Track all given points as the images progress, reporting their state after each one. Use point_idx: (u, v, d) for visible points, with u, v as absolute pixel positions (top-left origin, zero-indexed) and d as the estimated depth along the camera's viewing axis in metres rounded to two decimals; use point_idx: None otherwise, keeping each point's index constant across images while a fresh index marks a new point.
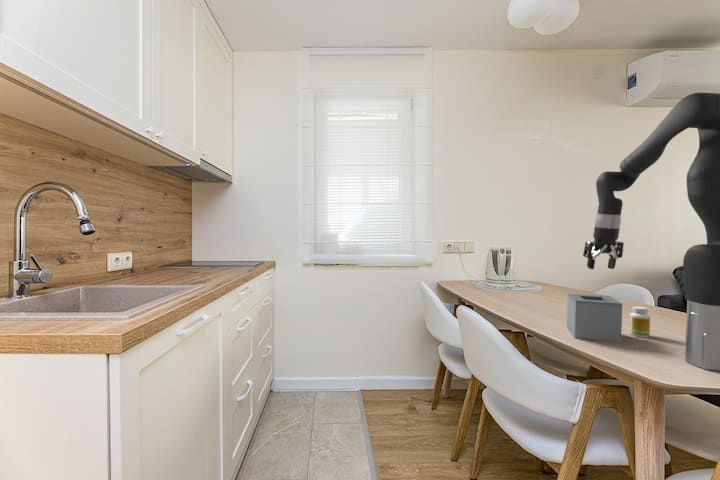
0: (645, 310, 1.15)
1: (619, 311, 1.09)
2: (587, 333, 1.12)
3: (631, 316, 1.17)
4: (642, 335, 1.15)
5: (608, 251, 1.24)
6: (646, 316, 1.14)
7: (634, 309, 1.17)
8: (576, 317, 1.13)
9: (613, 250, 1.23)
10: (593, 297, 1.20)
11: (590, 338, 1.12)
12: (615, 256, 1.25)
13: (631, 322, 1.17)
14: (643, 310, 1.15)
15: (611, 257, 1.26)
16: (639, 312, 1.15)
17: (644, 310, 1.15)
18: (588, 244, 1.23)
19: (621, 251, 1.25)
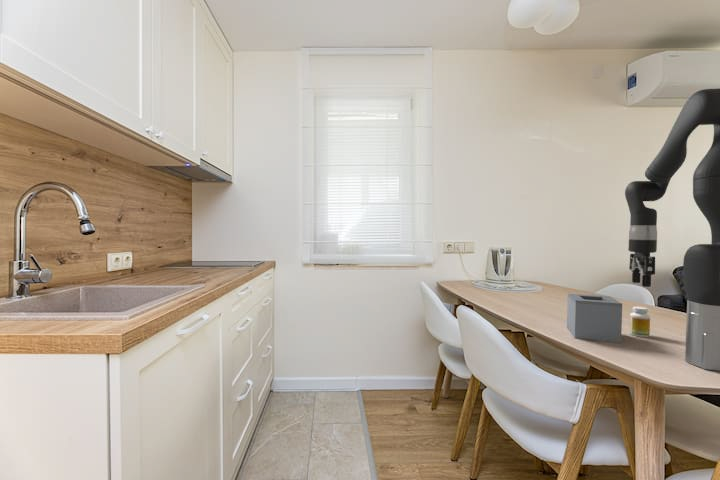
0: (645, 310, 1.15)
1: (619, 311, 1.09)
2: (587, 333, 1.12)
3: (631, 316, 1.17)
4: (642, 335, 1.15)
5: None
6: (646, 316, 1.14)
7: (634, 309, 1.17)
8: (576, 317, 1.13)
9: None
10: (593, 297, 1.20)
11: (590, 338, 1.12)
12: None
13: (631, 322, 1.17)
14: (643, 310, 1.15)
15: (635, 271, 1.20)
16: (639, 312, 1.15)
17: (644, 310, 1.15)
18: (651, 259, 1.10)
19: None
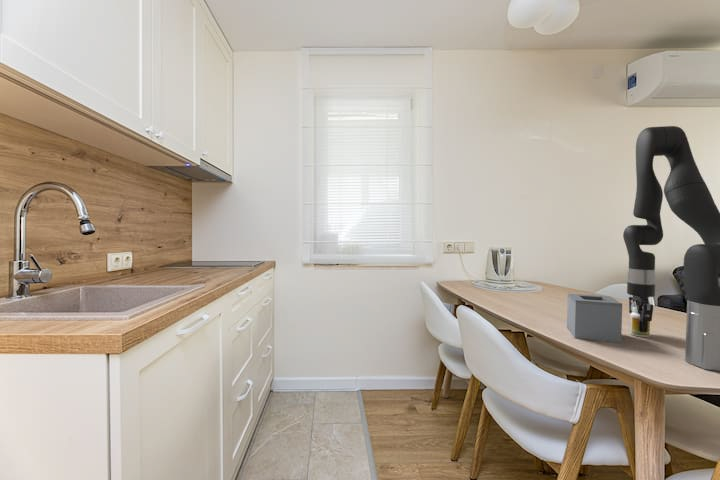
0: None
1: (619, 311, 1.09)
2: (587, 333, 1.12)
3: (631, 316, 1.17)
4: (642, 335, 1.15)
5: None
6: None
7: (634, 309, 1.17)
8: (576, 317, 1.13)
9: None
10: (593, 297, 1.20)
11: (590, 338, 1.12)
12: None
13: (631, 322, 1.17)
14: None
15: None
16: None
17: None
18: (649, 308, 1.10)
19: None
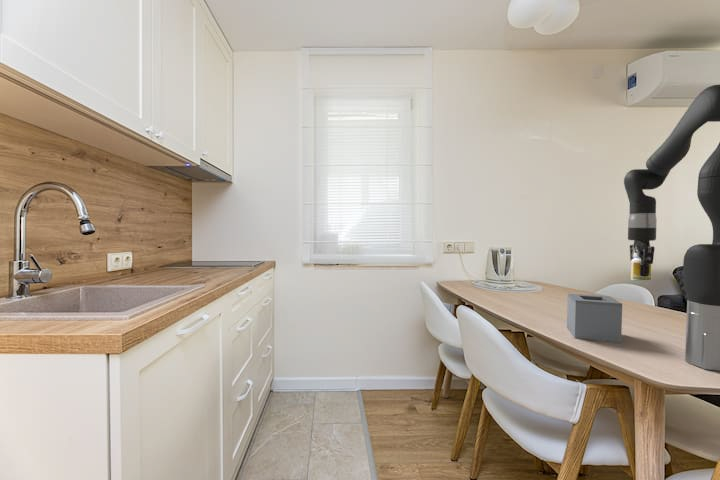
0: None
1: (619, 311, 1.09)
2: (587, 333, 1.12)
3: (632, 262, 1.17)
4: (643, 279, 1.14)
5: None
6: None
7: (635, 254, 1.16)
8: (576, 317, 1.13)
9: None
10: (593, 297, 1.20)
11: (590, 338, 1.12)
12: None
13: (632, 268, 1.17)
14: None
15: None
16: None
17: None
18: (650, 249, 1.10)
19: None
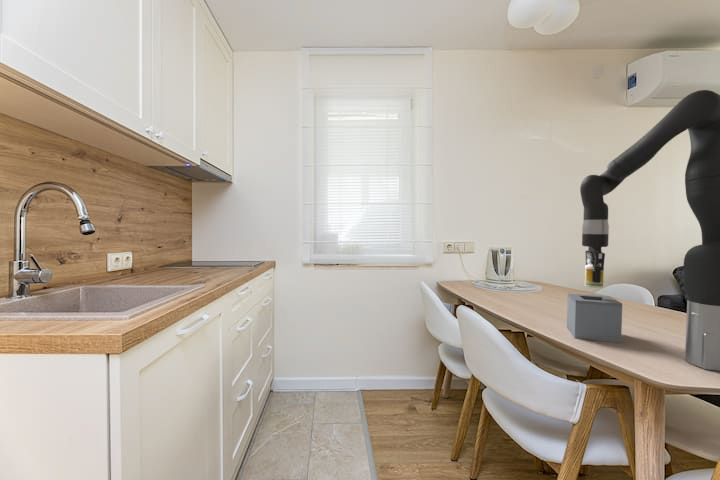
0: None
1: (619, 311, 1.09)
2: (587, 333, 1.12)
3: (585, 268, 1.17)
4: (595, 285, 1.14)
5: None
6: None
7: (588, 260, 1.16)
8: (576, 317, 1.13)
9: None
10: (593, 297, 1.20)
11: (590, 338, 1.12)
12: None
13: (585, 274, 1.17)
14: None
15: None
16: None
17: None
18: (601, 256, 1.10)
19: None
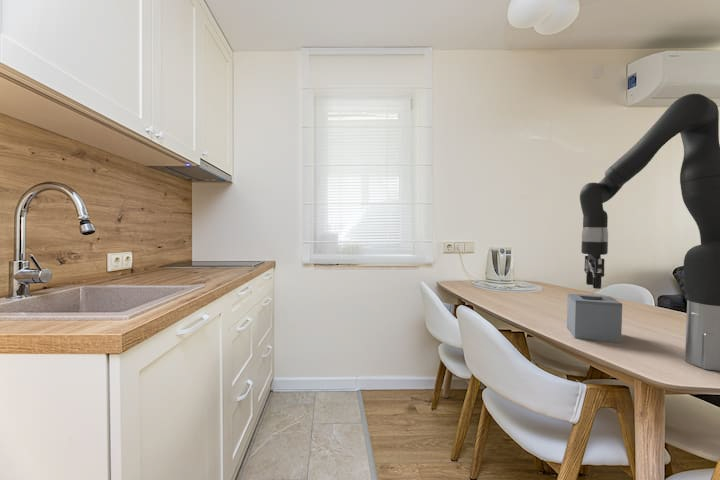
0: None
1: (619, 311, 1.09)
2: (587, 333, 1.12)
3: None
4: None
5: None
6: None
7: None
8: (576, 317, 1.13)
9: None
10: (593, 297, 1.20)
11: (590, 338, 1.12)
12: None
13: None
14: None
15: (589, 273, 1.20)
16: None
17: None
18: (600, 261, 1.10)
19: None
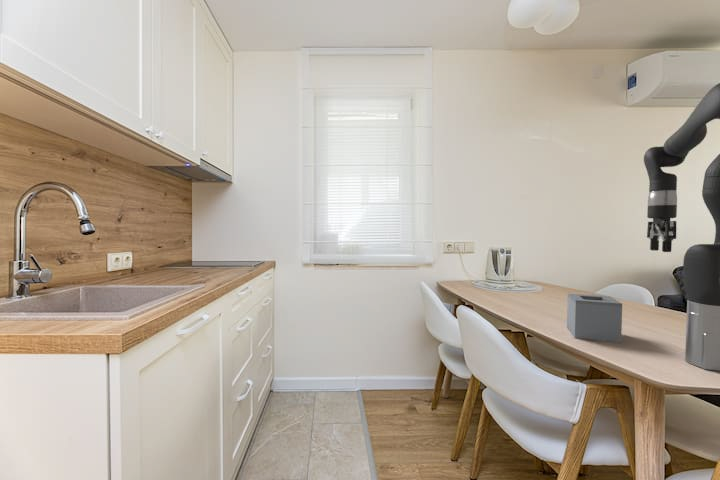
0: None
1: (619, 311, 1.09)
2: (587, 333, 1.12)
3: None
4: None
5: None
6: None
7: None
8: (576, 317, 1.13)
9: None
10: (593, 297, 1.20)
11: (590, 338, 1.12)
12: None
13: None
14: None
15: (654, 238, 1.19)
16: None
17: None
18: (672, 224, 1.09)
19: None
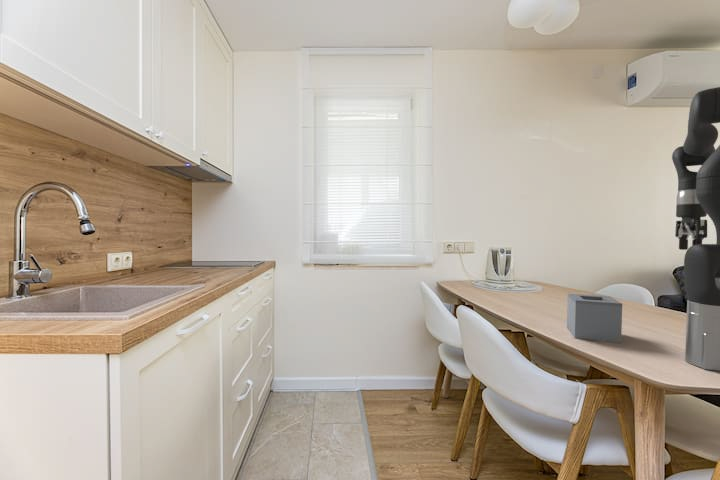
0: None
1: (619, 311, 1.09)
2: (587, 333, 1.12)
3: None
4: None
5: None
6: None
7: None
8: (576, 317, 1.13)
9: None
10: (593, 297, 1.20)
11: (590, 338, 1.12)
12: None
13: None
14: None
15: (682, 237, 1.19)
16: None
17: None
18: (703, 222, 1.08)
19: None
